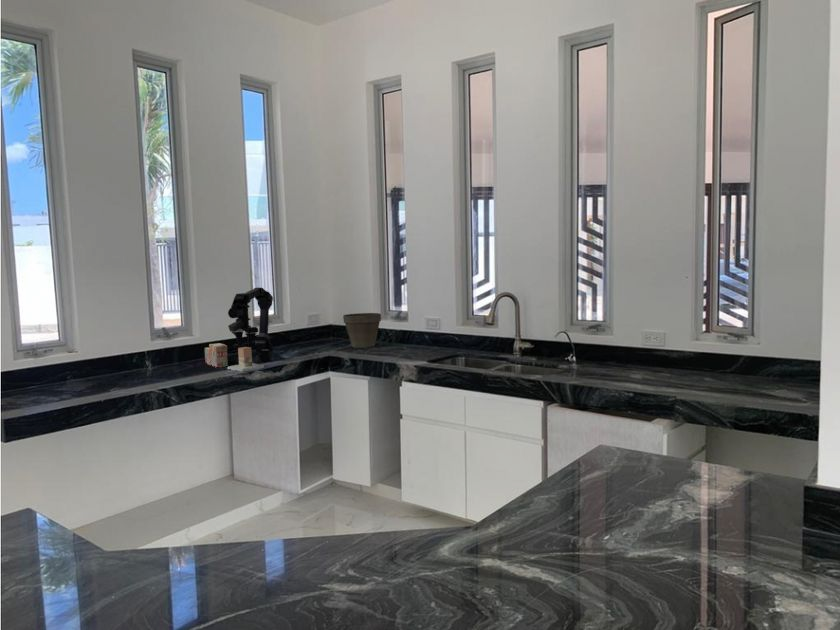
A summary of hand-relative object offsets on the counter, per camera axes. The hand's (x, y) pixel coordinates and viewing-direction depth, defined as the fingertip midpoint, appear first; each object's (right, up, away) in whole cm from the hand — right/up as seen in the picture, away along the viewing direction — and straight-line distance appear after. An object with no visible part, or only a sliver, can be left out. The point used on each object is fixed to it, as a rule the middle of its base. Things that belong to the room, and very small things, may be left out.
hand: (244, 345), depth 364 cm
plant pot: (+58, -5, +75) cm, 95 cm away
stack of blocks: (-20, -13, +17) cm, 29 cm away
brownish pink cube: (0, -7, +1) cm, 6 cm away
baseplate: (0, -13, +1) cm, 13 cm away
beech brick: (0, -11, +1) cm, 12 cm away
